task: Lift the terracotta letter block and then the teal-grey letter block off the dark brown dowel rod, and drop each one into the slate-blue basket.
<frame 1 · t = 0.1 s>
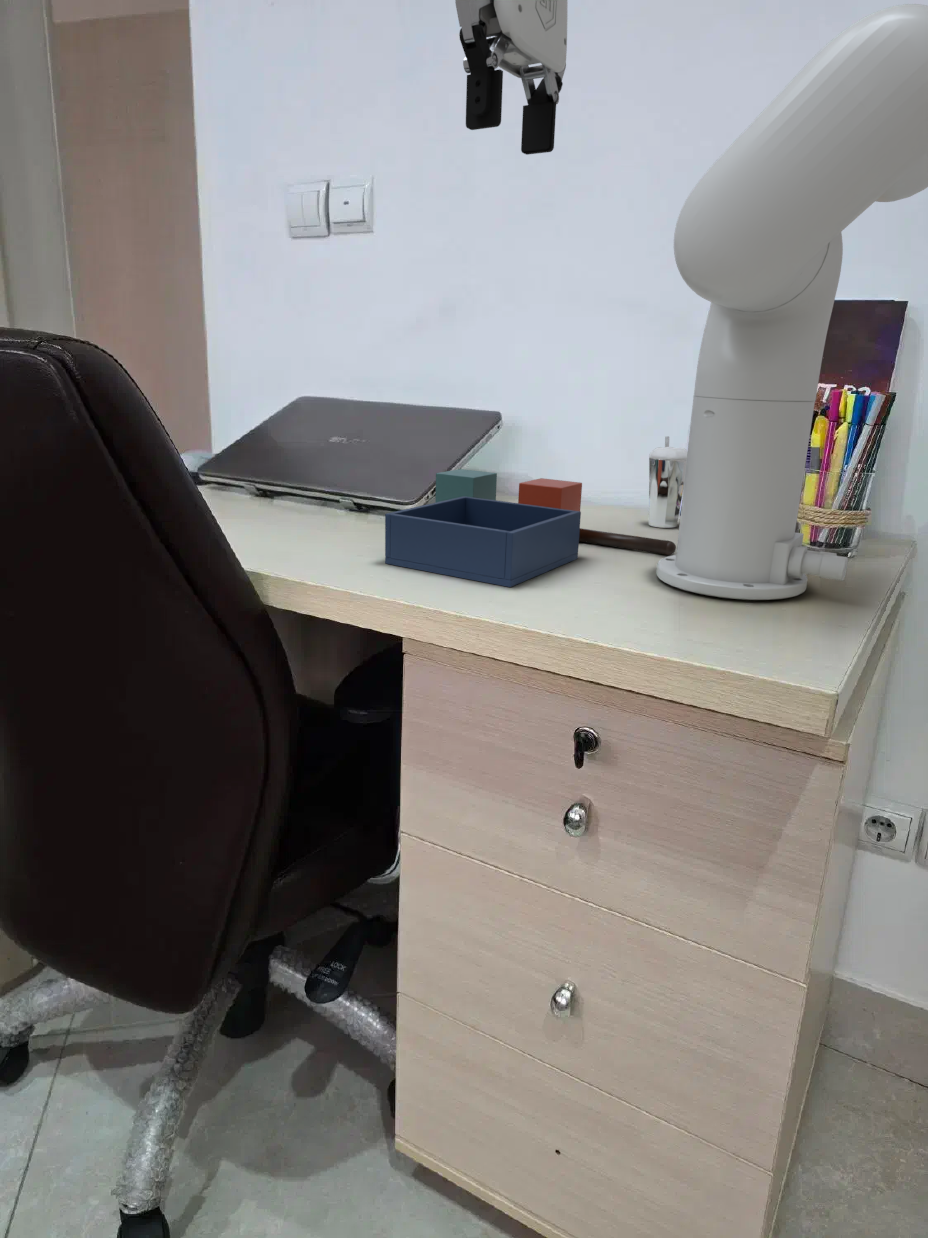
hand: (511, 140, 74), 37 cm above the table, tool pointing down, fingers open, 9 cm apart
block teal: (465, 517, 94), point 1 cm above the table, touching dark brown dowel rod
basket: (483, 561, 78), on the table
milkshake: (661, 526, 98), on the table
block red: (548, 529, 89), point 1 cm above the table, touching dark brown dowel rod
dark brown dowel rod: (506, 530, 92), on the table
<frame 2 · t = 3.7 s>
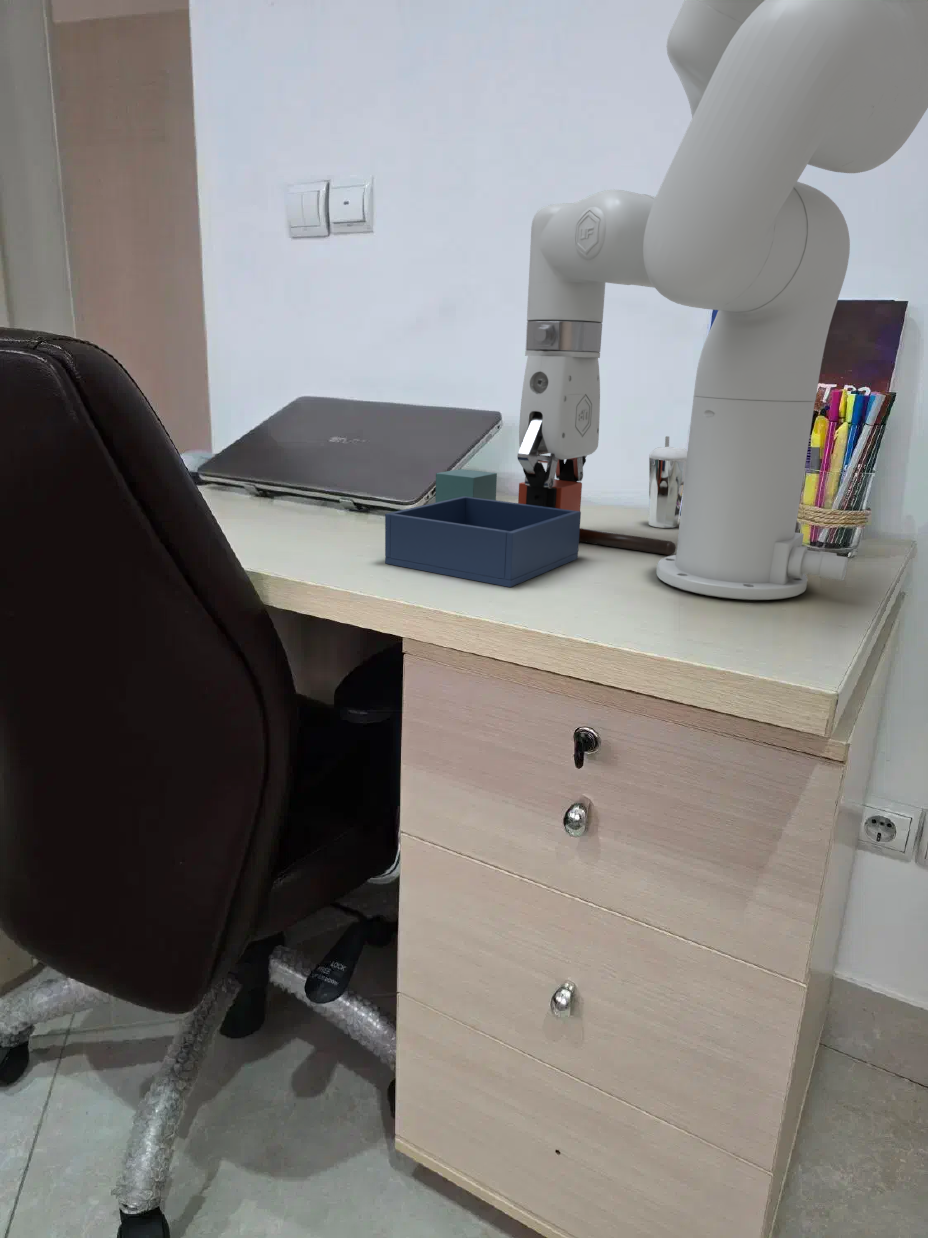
hand: (552, 519, 88), 2 cm above the table, tool pointing down, fingers closed on block red, 5 cm apart
block red: (548, 529, 89), point 1 cm above the table, touching gripper, dark brown dowel rod
everything else where it was.
when the fingers open (3 cm above the table, at t = 9.5 s): block red drops 2 cm, resting on basket.
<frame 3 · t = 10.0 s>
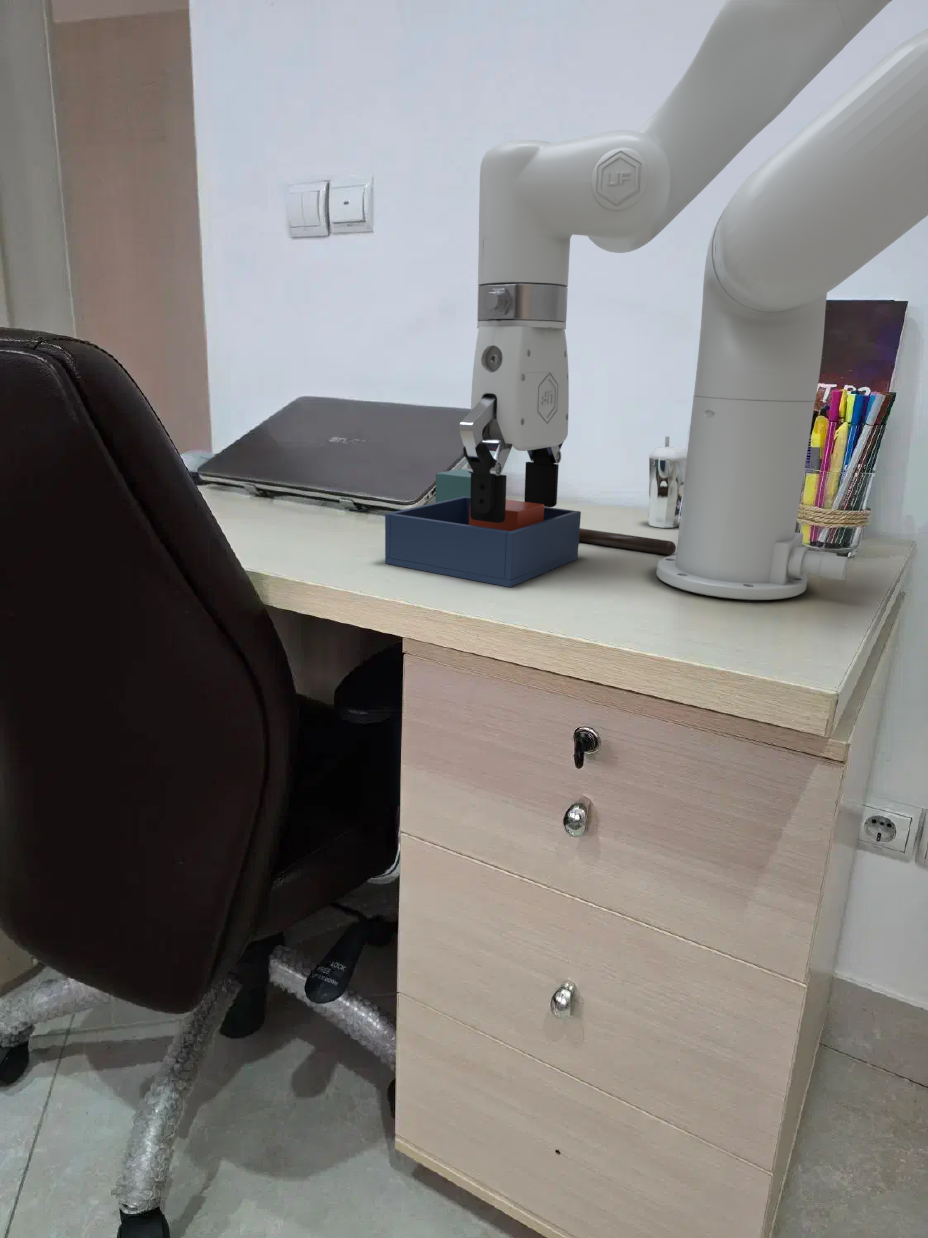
hand: (515, 512, 75), 5 cm above the table, tool pointing down, fingers open, 9 cm apart
block red: (504, 558, 76), point 1 cm above the table, touching basket
everything else where it was.
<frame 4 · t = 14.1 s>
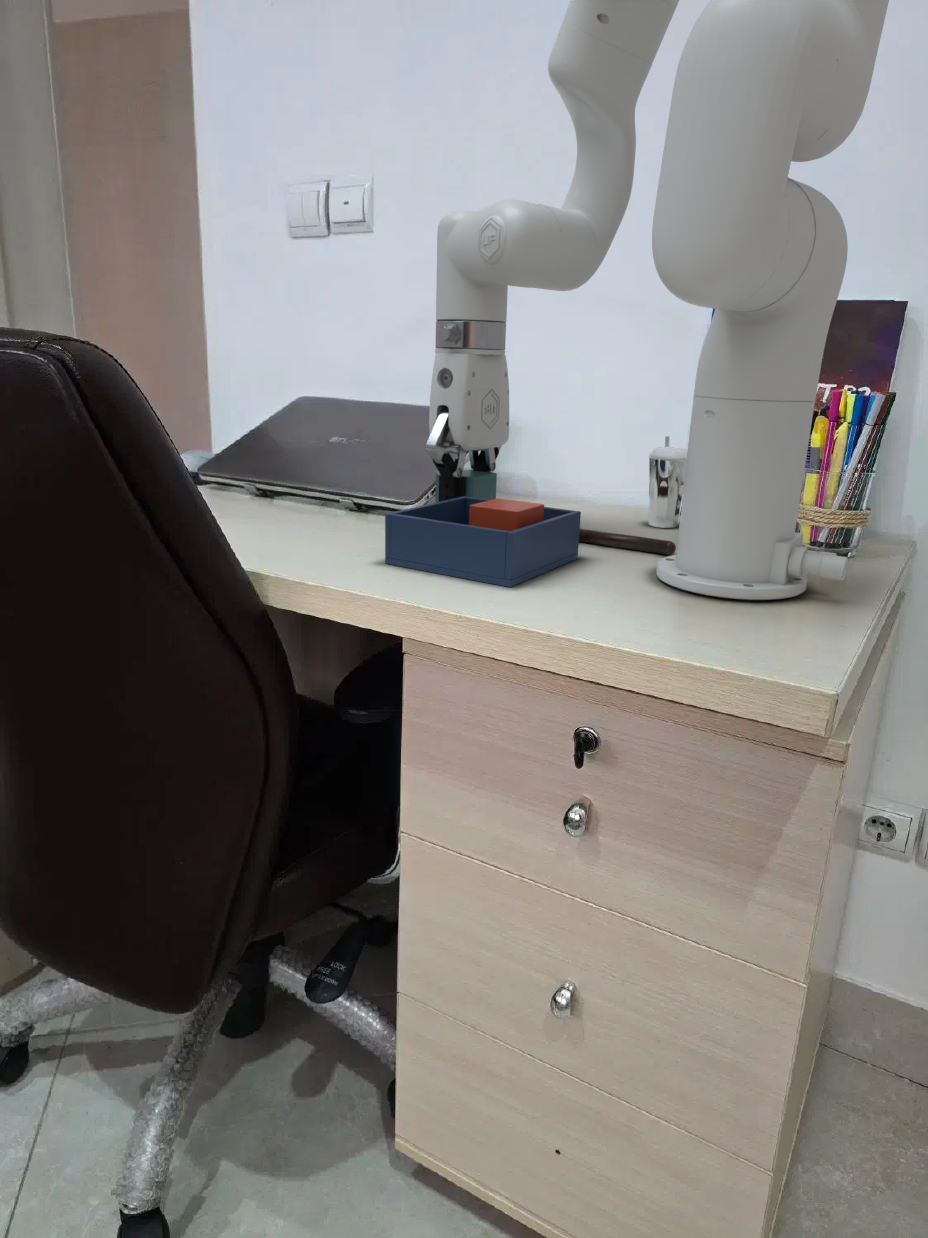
hand: (465, 507, 94), 2 cm above the table, tool pointing down, fingers closed on block teal, 5 cm apart
block teal: (465, 517, 94), point 1 cm above the table, touching gripper, dark brown dowel rod
everything else where it was.
when the fingers open (3 cm above the table, at t = 19.9 s): block teal drops 2 cm, resting on basket.
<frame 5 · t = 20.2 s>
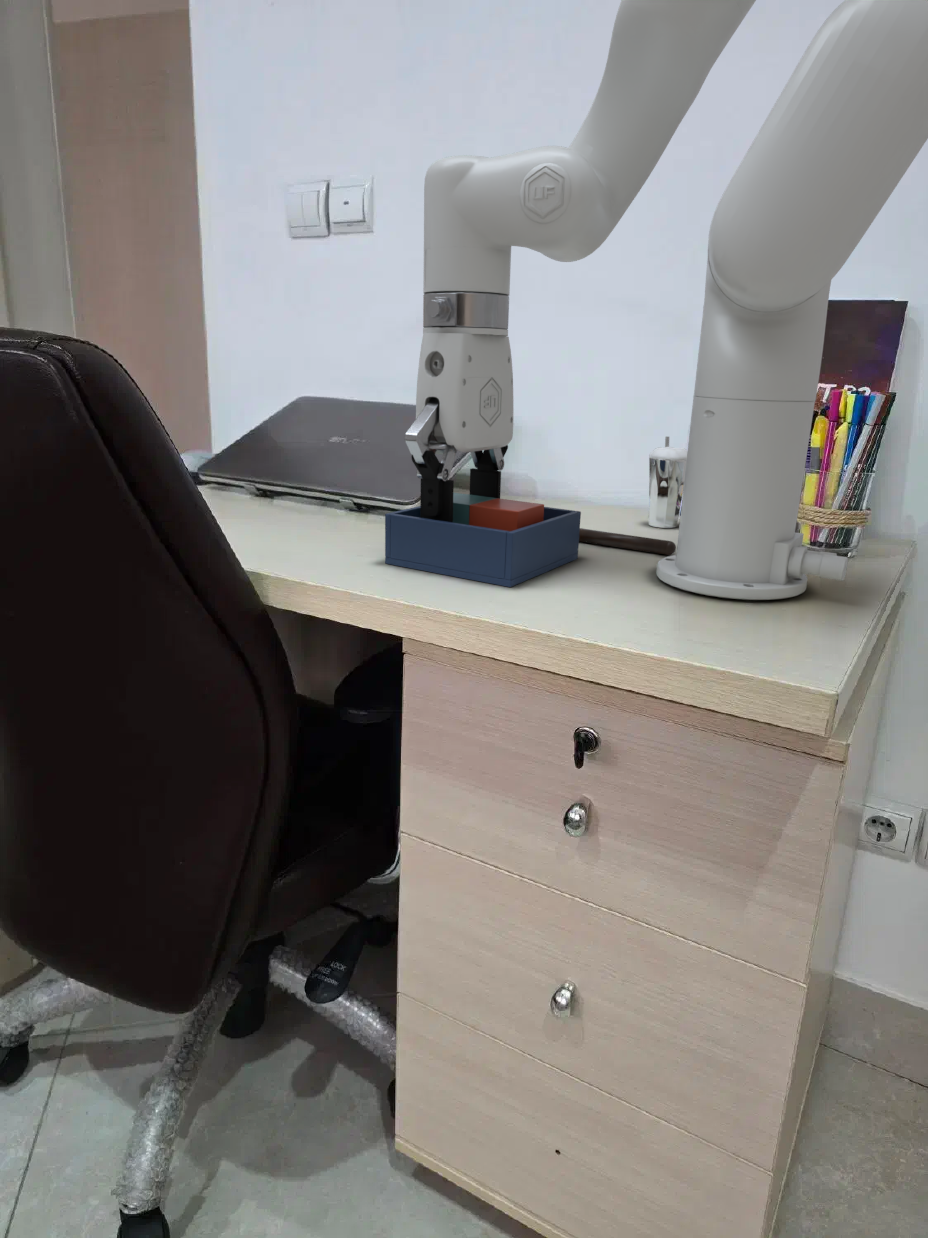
hand: (461, 515, 78), 4 cm above the table, tool pointing down, fingers open, 7 cm apart
block teal: (459, 550, 79), point 1 cm above the table, touching basket
everything else where it was.
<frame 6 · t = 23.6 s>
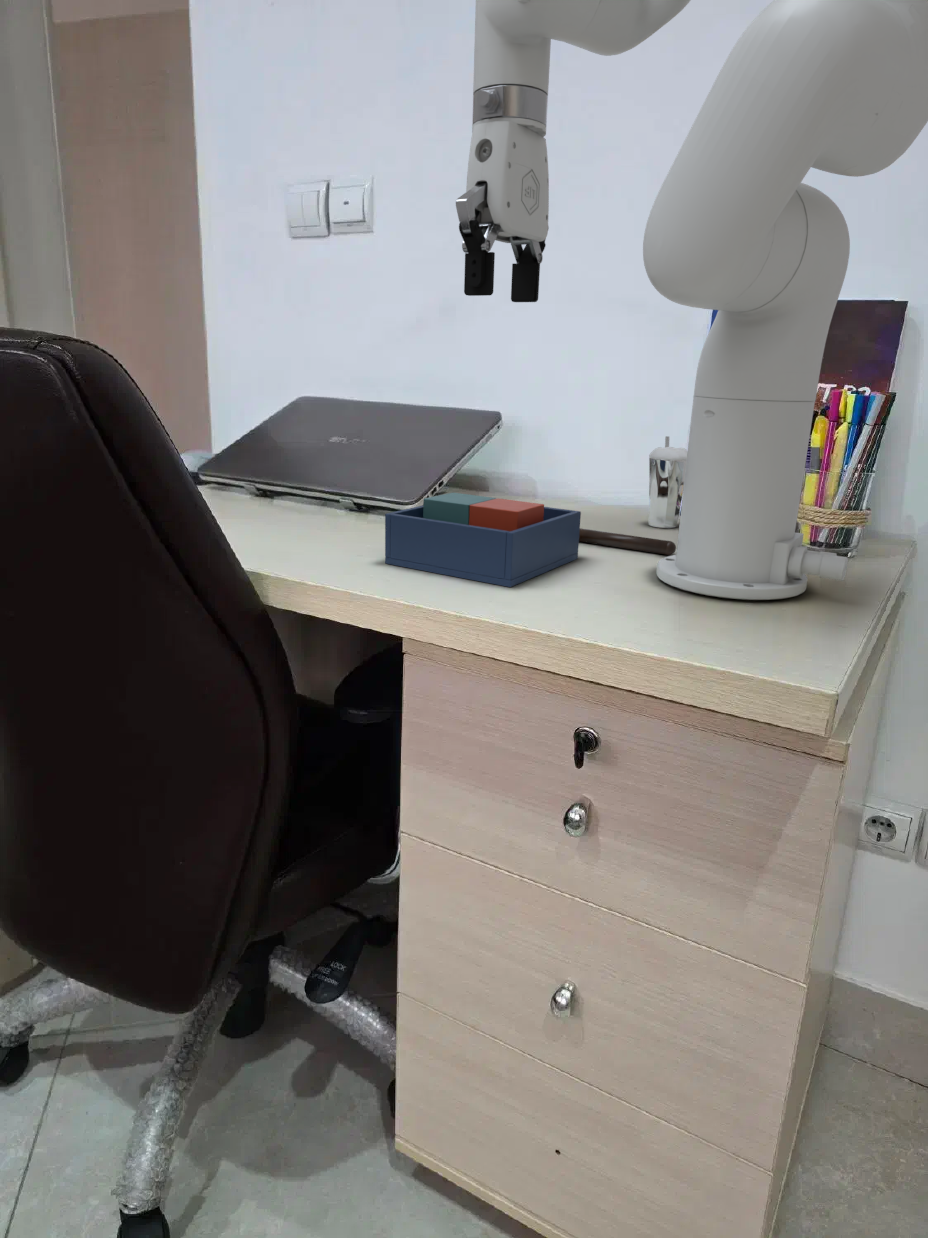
hand: (502, 298, 89), 24 cm above the table, tool pointing down, fingers open, 9 cm apart
nothing on the table moved.
at the end: block red inside the target area in the basket (2.3 cm from its centre), point 0.6 cm above the basket's base; block teal inside the target area in the basket (2.8 cm from its centre), point 0.6 cm above the basket's base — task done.
